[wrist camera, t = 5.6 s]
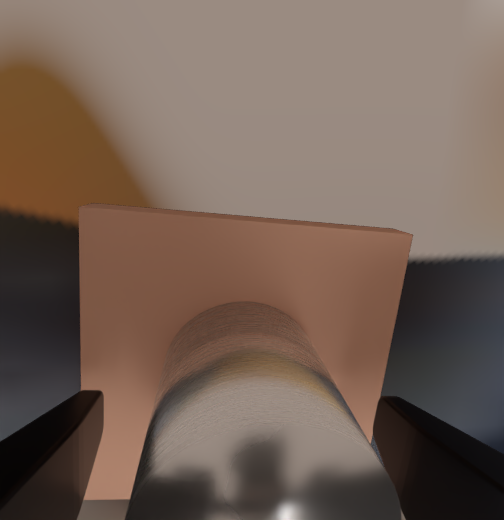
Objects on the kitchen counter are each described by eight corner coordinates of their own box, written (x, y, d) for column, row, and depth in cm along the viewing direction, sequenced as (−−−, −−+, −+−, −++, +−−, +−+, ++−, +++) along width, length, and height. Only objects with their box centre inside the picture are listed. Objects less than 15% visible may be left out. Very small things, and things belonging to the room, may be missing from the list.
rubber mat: (347, 468, 12) (360, 494, 11) (94, 470, 11) (82, 499, 10) (393, 228, 10) (413, 234, 9) (92, 202, 9) (78, 206, 8)
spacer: (305, 438, 10) (374, 639, 6) (160, 437, 10) (116, 658, 5) (325, 305, 9) (427, 425, 5) (166, 296, 9) (121, 421, 4)
